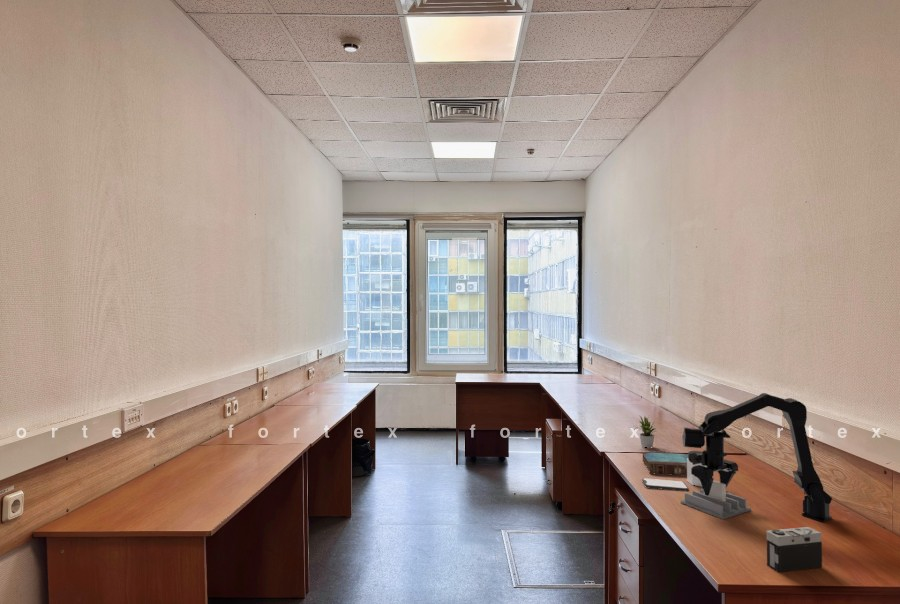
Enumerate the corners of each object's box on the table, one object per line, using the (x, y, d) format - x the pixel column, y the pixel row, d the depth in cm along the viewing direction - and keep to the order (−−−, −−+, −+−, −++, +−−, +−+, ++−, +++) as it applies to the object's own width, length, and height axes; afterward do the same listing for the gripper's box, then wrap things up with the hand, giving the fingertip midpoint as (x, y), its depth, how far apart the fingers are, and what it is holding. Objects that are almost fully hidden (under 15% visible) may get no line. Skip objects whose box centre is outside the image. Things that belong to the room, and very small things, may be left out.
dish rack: (750, 510, 175) (750, 499, 176) (722, 519, 168) (722, 508, 168) (708, 495, 190) (708, 485, 190) (680, 503, 182) (680, 492, 182)
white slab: (725, 507, 176) (725, 484, 176) (722, 508, 175) (722, 485, 175) (707, 500, 182) (707, 478, 182) (703, 501, 181) (703, 479, 182)
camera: (797, 554, 144) (797, 519, 145) (823, 568, 136) (823, 531, 137) (755, 558, 142) (754, 522, 142) (779, 573, 134) (778, 535, 134)
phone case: (683, 485, 203) (641, 481, 206) (683, 481, 203) (641, 477, 206) (689, 493, 194) (645, 489, 197) (689, 488, 194) (645, 485, 197)
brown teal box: (649, 475, 214) (649, 463, 214) (641, 462, 231) (641, 451, 231) (706, 478, 210) (706, 466, 210) (694, 465, 227) (693, 454, 227)
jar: (686, 484, 201) (686, 454, 201) (687, 478, 208) (687, 449, 208) (711, 488, 197) (711, 457, 197) (712, 482, 204) (711, 452, 204)
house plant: (624, 443, 261) (624, 412, 262) (646, 441, 266) (646, 410, 266) (642, 451, 248) (642, 418, 248) (665, 449, 252) (665, 416, 252)
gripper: (710, 440, 190) (710, 481, 190) (677, 446, 181) (677, 490, 181) (739, 447, 181) (739, 491, 180) (706, 454, 172) (706, 500, 172)
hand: (715, 492), depth 179 cm, fingers open, 9 cm apart
